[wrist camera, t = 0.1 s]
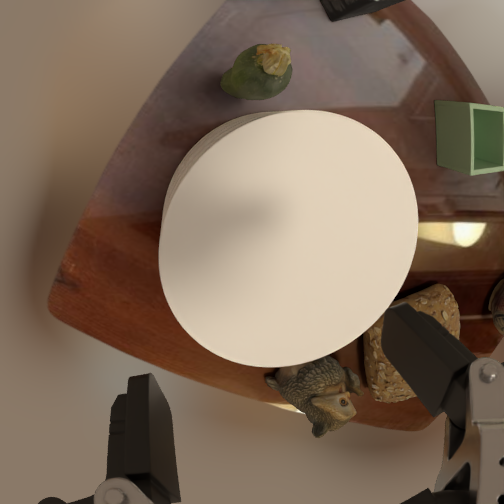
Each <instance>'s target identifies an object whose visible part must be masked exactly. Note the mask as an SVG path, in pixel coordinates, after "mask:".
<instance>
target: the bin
mask: <svg viewBox="0 0 504 504" xmlns="http://www.w3.org/2000/svg"><path fill="white" fill-rule="evenodd" d="M434 103H435V117H436V139H437V165H439V166H442V167H445V168H449V169H452V170H455V171H458V172H461V173H464V174H467V175H470V176H471V175H478V174H484V173H491V172H498V171H504V107H497V106H491V105H484V104H475V103H466V102H455V101H441V100H434Z"/></svg>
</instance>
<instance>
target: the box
mask: <svg viewBox="0 0 504 504" xmlns="http://www.w3.org/2000/svg"><path fill="white" fill-rule="evenodd" d="M402 1H404V0H321V2H322V4H323V6H324V8H325V10H326V12H327V13H328V15H329V17H330V19H331V21H338V20H342V19H346V18H350V17H354V16H359V15H363V14H367V13H372V12H376V11H379V10H381V9H384V8H386V7H388V6H391V5H394V4H396V3H399V2H402Z"/></svg>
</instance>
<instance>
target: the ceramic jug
mask: <svg viewBox="0 0 504 504" xmlns="http://www.w3.org/2000/svg"><path fill="white" fill-rule="evenodd" d="M488 309H489V310H490V311H491V312H492V317H493V322H494V325H495V327H496V328H497V329H498V331H499V332H500V333H501V334H502V335H504V279H502V280H501V281H500V282H499V283H498V284H497V285H496V287H495V288H494V290H493V292H492V295H491V297H490V301H489V307H488Z"/></svg>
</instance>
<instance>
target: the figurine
mask: <svg viewBox="0 0 504 504" xmlns="http://www.w3.org/2000/svg"><path fill="white" fill-rule="evenodd" d="M265 382H266V383H267V385H268V386H269V387H271V388H272V389H275V390H276V391H279V392H280V394H281V395H282V397H283V398H285V399H286V400H287V401H288V402H289V403H290V404H292V405H293V406H295V407H296V408H297V409H298V410H300V411H301V412H303V413H305V414H306V416H307V418H308V420H309V421H310V422H311V423H313V428H312V433H313V435H314V436H315V437H316V438H320V437H322V436H324V434H326V433H327V432H328V431H334V430H338V429H339V428H341V427H342V426H344V425H345V424H346V423H347V422H348V421H349V420H350V419H351V418H352V417H353V416H354V415H355V414H356V410H355V409H354V407H353V404H352V402H351V400H350V393H352V392H354V393H356V394H357V395H358V396H362V395H363V394H364V393H363V392H362V391H361V390H360V381H359V378H358V376H357V375H356V374H354V373H352V371H351V369H350V368H348V367H343V368H342V367H341V366H340V365H339V363H338V361H337V360H335V359H334V358H332V357H330V356H328V355H326V356H324V357H321V358H319V359H316V360H313V361H309V362H306V363H302V364H297V365H292V366H284V367H281V368H280V369H279V370H278V371H277V372H276V374H275V377H270V376H267V377H266V380H265Z"/></svg>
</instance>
